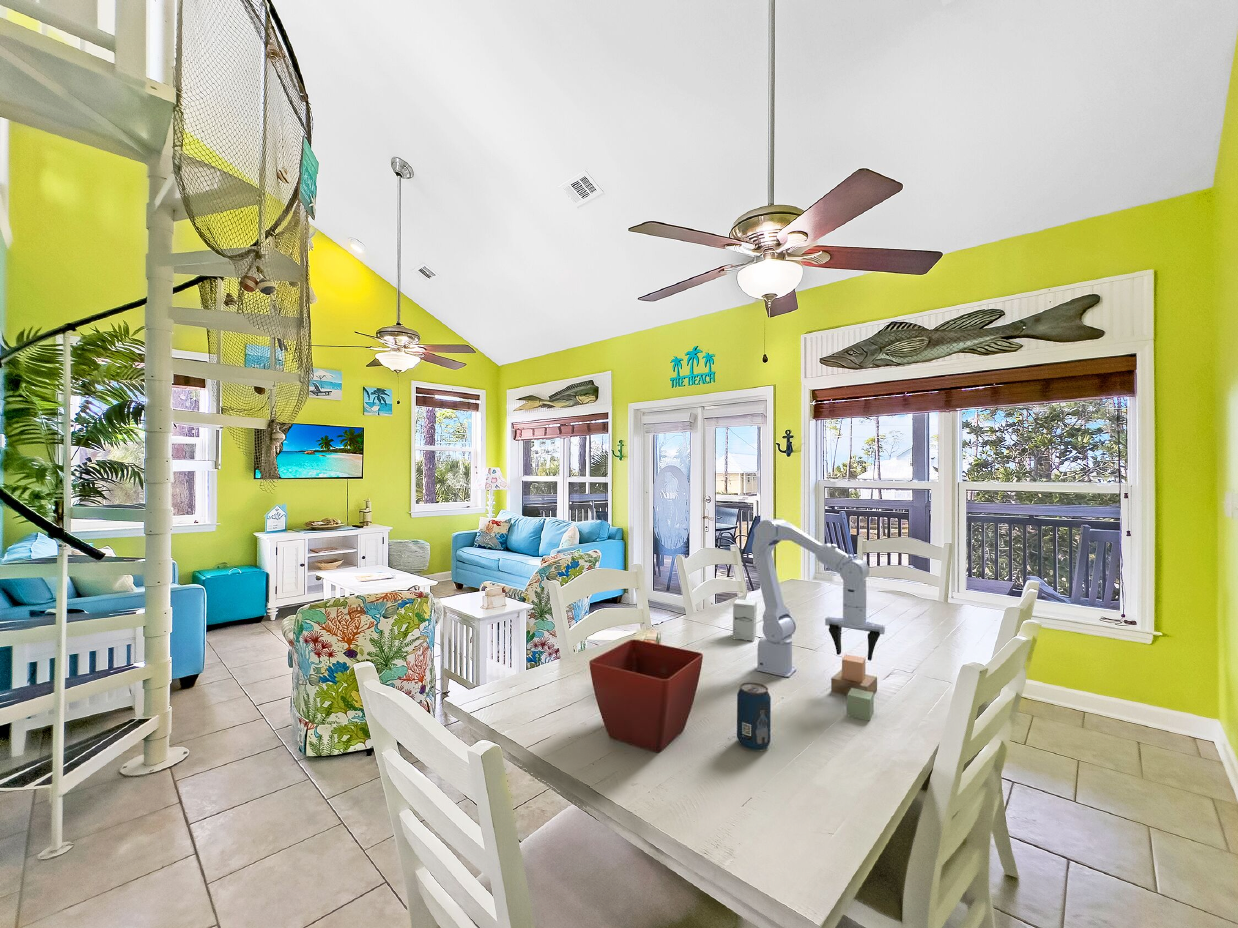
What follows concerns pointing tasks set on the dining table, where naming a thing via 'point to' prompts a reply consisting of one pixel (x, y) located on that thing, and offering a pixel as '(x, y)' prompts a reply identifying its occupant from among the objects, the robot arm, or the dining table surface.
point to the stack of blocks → (648, 636)
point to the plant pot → (645, 691)
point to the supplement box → (744, 619)
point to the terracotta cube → (853, 668)
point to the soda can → (753, 716)
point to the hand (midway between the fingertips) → (854, 656)
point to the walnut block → (852, 684)
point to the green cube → (860, 704)
